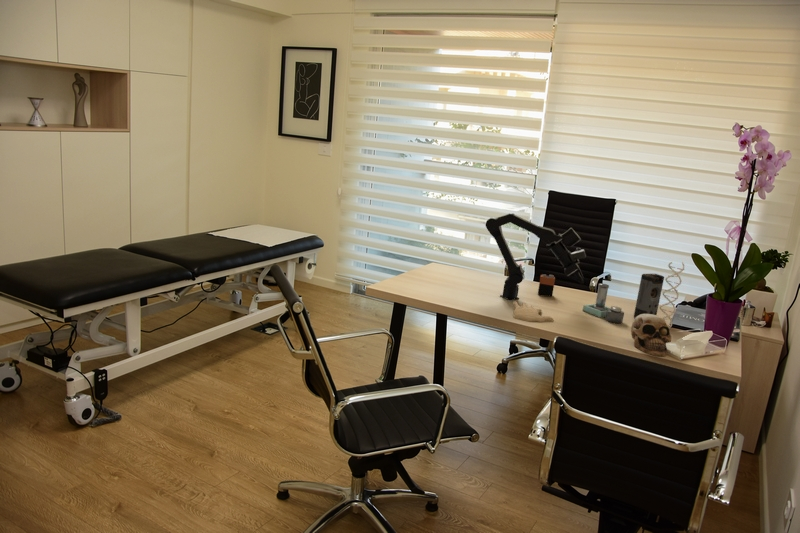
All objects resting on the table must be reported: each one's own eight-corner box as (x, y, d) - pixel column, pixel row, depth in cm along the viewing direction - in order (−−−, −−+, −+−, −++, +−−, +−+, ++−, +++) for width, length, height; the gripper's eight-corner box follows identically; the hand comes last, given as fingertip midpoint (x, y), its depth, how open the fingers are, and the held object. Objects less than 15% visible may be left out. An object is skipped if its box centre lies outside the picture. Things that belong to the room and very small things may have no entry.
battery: (552, 297, 293) (555, 276, 291) (537, 294, 294) (540, 274, 292) (552, 295, 297) (555, 275, 295) (538, 292, 298) (541, 272, 296)
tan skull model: (658, 357, 222) (662, 321, 220) (616, 346, 235) (620, 311, 234) (681, 353, 231) (685, 318, 230) (639, 342, 245) (643, 309, 243)
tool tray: (600, 317, 266) (601, 311, 266) (582, 310, 274) (583, 305, 274) (615, 315, 272) (616, 310, 271) (597, 309, 280) (598, 303, 279)
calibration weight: (615, 324, 258) (617, 310, 257) (601, 319, 264) (604, 306, 262) (625, 323, 262) (628, 309, 261) (612, 318, 268) (614, 304, 266)
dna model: (662, 335, 249) (677, 263, 243) (650, 330, 255) (665, 260, 248) (674, 335, 252) (689, 264, 246) (662, 329, 258) (677, 260, 251)
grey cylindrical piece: (601, 314, 269) (606, 286, 267) (590, 311, 273) (595, 283, 270) (607, 312, 273) (612, 285, 270) (596, 309, 276) (601, 282, 274)
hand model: (504, 310, 253) (518, 294, 270) (502, 320, 255) (516, 304, 272) (549, 323, 246) (560, 306, 263) (547, 333, 247) (558, 315, 264)
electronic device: (642, 321, 267) (651, 277, 263) (631, 317, 272) (640, 273, 268) (657, 320, 272) (666, 276, 267) (646, 316, 277) (655, 273, 272)
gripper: (576, 245, 261) (599, 275, 261) (577, 239, 279) (598, 267, 278) (555, 260, 265) (576, 289, 265) (556, 253, 283) (577, 281, 282)
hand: (583, 281), depth 272 cm, fingers open, 9 cm apart
